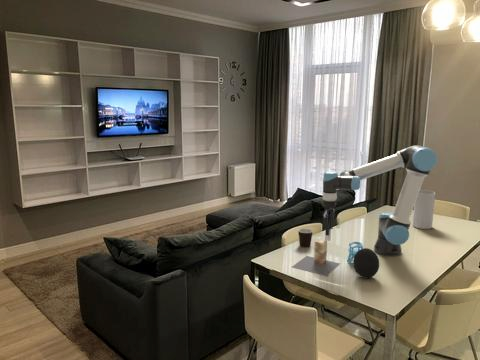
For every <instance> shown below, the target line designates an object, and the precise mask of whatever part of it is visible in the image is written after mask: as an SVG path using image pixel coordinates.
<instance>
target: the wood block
mask: <svg viewBox="0 0 480 360" xmlns="http://www.w3.org/2000/svg"><path fill="white" fill-rule="evenodd" d="M327 247H328V241H327V240H325V239H322V238H321V239H320V238H318V239H316V240H315V241H314V253H313V254H314V255H313V256H314V263H319V264H324V263H325V262H326V260H327V257H328V252H327V251H328V248H327Z"/></svg>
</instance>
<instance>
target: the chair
mask: <svg viewBox="0 0 480 360" xmlns="http://www.w3.org/2000/svg"><path fill="white" fill-rule="evenodd" d="M354 244H355V245H354ZM352 245H353V246H352ZM348 246H349V248H348V249H347V250H348V256H347V260H346V262H347V264H351V265H353V260H354V256H355V254H356V253H357V252H358V251H359V250H361V249H363V248H364V245H363V244H362V242H360V241H353V242H351V243H348Z"/></svg>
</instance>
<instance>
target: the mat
mask: <svg viewBox="0 0 480 360" xmlns="http://www.w3.org/2000/svg"><path fill="white" fill-rule="evenodd" d="M340 265H341V263H339V262H335V261H331V260H328V259H326V262H325V263H324V264H319V263H314V257H313V256H310V255H306V256H305V257H303V258H302V259H301V260H299V261H298V262H296V263H295V264H294V265H292V266H291V268H292V269H297V270H301V271H304V272H308V273H312V274H317V275H320V276H325V277H328V276H329V275H330V274H331V273H332V272H334V271H335V270H336V268H338V267H339V266H340Z"/></svg>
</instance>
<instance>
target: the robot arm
mask: <svg viewBox="0 0 480 360" xmlns="http://www.w3.org/2000/svg"><path fill="white" fill-rule="evenodd" d="M437 162H438V157H437V154H436V152H435V151H434V150H433V149H432V148H430V147H427V146H423V145H420V144H416V145H415V144H414V145H411V146H409V147H405V148H403V149H401V150H398V151H396V153H395V154H392V155H390V156H386V157H384V158H381V159H378V160H376V161H372V162H370V163H367V164H364V165H362V166H361V165H360V166H358V167H356V168H355V167H354V168H353V169H349V170H343V171H341V172H340V173H339V175H338V172H337V171H325V172H324V173H323V180H322V207H323V208H324V211H323V212H324V213H322V215H321V216H322V221H323V222H322V223H323V230H325V233H324V234H325V236H324V240H326V241H327V242H330V241H331V239H332V238H331V237H332V235H331V234H332V230H334V227H333V226H334V220H335V213H336V209H334V208H336V207H337V197H338V195H337V194H338V193H337V191H338V190H347V191H357V190H360V187H361V181H363V180H366V179H368V178H371V177H375V176H378V175H380V174H383V173H386V172H389V171H392V170H395V169H397V168H398V169H399V168H403V169H404V168H405V170H406V172H407V173H406V176H405V177H404V178H405V179H404V182H403V184H402V187H401V189H400V193H399V196H398V198H397V201H396V204H395V206H394V210H393V212H382V213H379V217H378V227H377V228H378V231H377V238H376V241H375V244H374V247H373V251H374V252H375V253H376V254H378V255H383V256H391V257H395V256H399V255H401V254H402V246H401V245H403V244H405V243H406V242H407V241H408V240H409V238H410V232H409V231H410V230H409V229H410V227H411V224H412V222H411V221H410V217H411V215H412V212H413V211H414V204H415V202H416V199H417V196H418V193H419V191H420V190H421V188H422V184H423V183H424V180H425V178H426V177H428V176H430V172H431V171H432V169H434V168H435V166H436V165H437Z"/></svg>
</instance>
